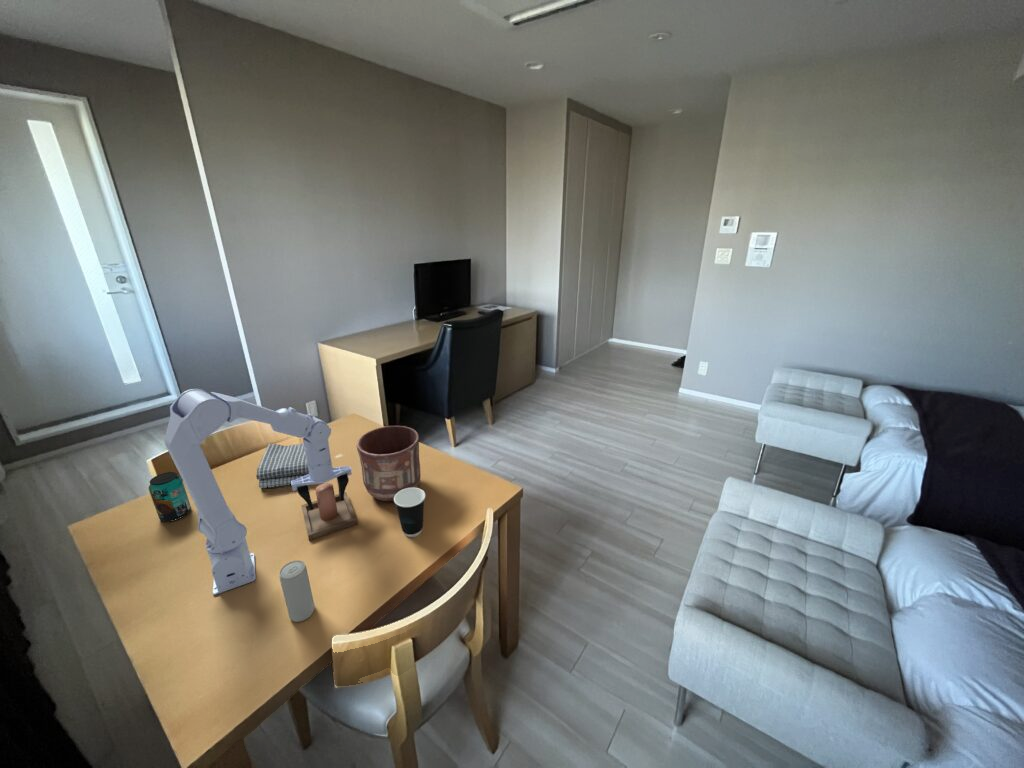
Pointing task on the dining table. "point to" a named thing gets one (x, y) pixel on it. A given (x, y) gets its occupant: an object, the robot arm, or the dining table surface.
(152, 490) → the beverage can
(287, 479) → the towel
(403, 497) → the dixie cup
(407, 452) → the pottery
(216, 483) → the robot arm
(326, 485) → the dowel
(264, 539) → the dining table surface
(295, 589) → the beverage can
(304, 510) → the tray
